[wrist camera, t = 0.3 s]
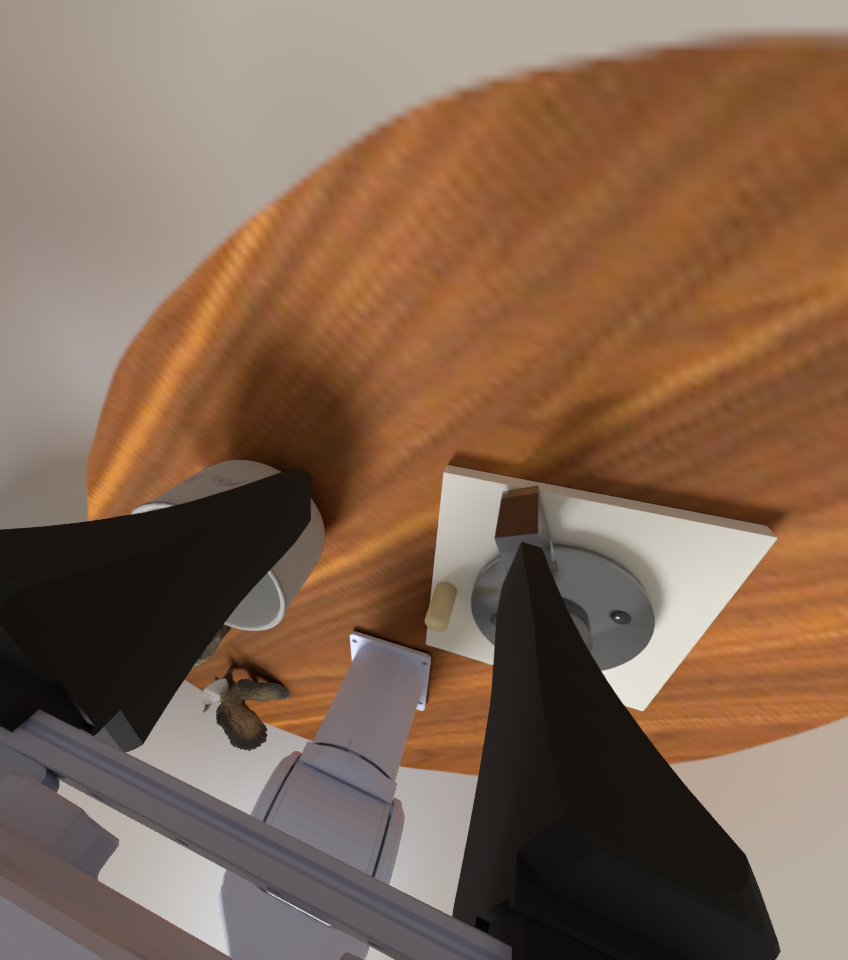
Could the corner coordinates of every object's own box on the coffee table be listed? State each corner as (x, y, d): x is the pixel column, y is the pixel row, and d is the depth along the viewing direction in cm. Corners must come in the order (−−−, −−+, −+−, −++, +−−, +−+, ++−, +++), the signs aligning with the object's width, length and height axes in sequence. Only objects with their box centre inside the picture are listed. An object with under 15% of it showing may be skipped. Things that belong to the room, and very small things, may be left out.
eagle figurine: (228, 695, 48) (276, 734, 45) (179, 725, 41) (233, 773, 38) (249, 645, 48) (299, 682, 45) (204, 667, 41) (259, 712, 38)
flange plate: (658, 665, 23) (681, 737, 19) (496, 660, 27) (489, 717, 24) (632, 469, 17) (656, 519, 13) (431, 503, 21) (410, 548, 18)
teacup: (342, 462, 24) (265, 534, 17) (345, 572, 29) (288, 658, 23) (176, 421, 26) (53, 469, 20) (208, 530, 32) (121, 595, 25)
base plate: (639, 697, 27) (654, 757, 23) (428, 634, 30) (415, 678, 27) (766, 525, 18) (818, 582, 14) (447, 464, 21) (430, 498, 18)
